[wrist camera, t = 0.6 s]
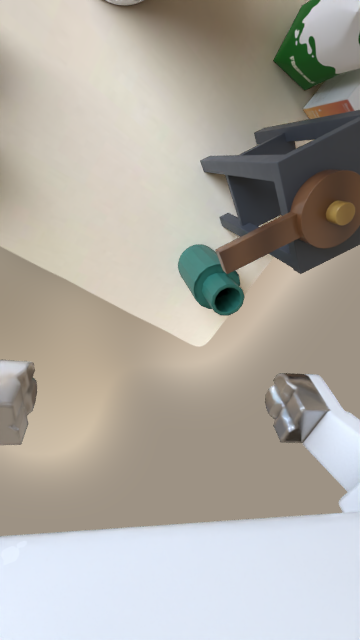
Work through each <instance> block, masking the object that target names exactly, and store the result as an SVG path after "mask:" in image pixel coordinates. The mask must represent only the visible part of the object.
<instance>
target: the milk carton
mask: <svg viewBox="0 0 360 640" xmlns="http://www.w3.org/2000/svg"><path fill="white" fill-rule="evenodd" d="M273 61H274V62H275V63H276V64H277V65H278V66H279V67H280V68H282V69H283V70H284V71H285V72H286V73H287V74H288V75H289V76H290V77H291V78H292V79H293V80H294V81H295V82H296V83H297V84H298V85H299V86H300V87H301V88H302V89H303V90H306V89H308V88H311V87H313V86H315V85H317V84H319V83H322V82H324V81H326V80H328V79H331V78H333V77H336V76H339V75H342V74H345V73H347V72H350V71H353V70H356V69H359V68H360V0H310V1H309V2H307V3H306V4H304V5H302V7H301V9H300V11H299V13H298V14H297V16H296V18H295V20H294V22H293V24H292V26H291V28H290V30H289V32H288V34H287V35H286V37H285V39H284V41H283V43H282V45H281V47H280V49H279V51H278V53H277V55H276V56H275V58H274V60H273Z"/></svg>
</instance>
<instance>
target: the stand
mask: <svg viewBox="0 0 360 640" xmlns="http://www.w3.org/2000/svg"><path fill="white" fill-rule="evenodd" d="M254 134H255V138H256V142H257V144H259V145H257V146H255V147H253V148H252V149H250V150H248V151H246V152H244V153H242V154H240V155H235V156H209V157H207V158H205V159H203V160H201V164H202V167H203V170H204V172H210V173H217V174H224V175H225V176H226V179H227V182H228V186H229V189H230V192H231V195H232V199H233V202H234V205H235V209H236V212H237V215H238V217H236V216H234V215H231V214H229V213H227V214H225V215H223V216H221V217H220V220H221V223H222V226H223V227H225V228H227V229H228V230H230V231H232V232H233V233H235V234H237V235H238V236H240V237H241V236H243V235H245V234H247V233H249V232H251V231H253V230H255V229H257V228H259V227H258V226H259V225H261V224H263V223H265V222H267V221H269V220H271V219H273V218H275V217H277V216H279V215H282V216H283V215H285V214H287V213H289V212H290V210H291V206H292V203H293V200H294V198H295V195H296V194H297V192H298V190H299V189H300V187H301V186H302V185H303V184H304V183H305V182H306V181H307V180H308V179H309V178H310V177H312V176H313V175H315V174H316V173H319V172H321V171H324V170H330V169H332V170H349V171H353V172H356V173H357V174H359V175H360V110H356V111H351V112H345V113H340V114H335V115H330V116H324V117H319V118H314V119H309V120H304V121H298V122H293V123H288V124H283V125H277V126H272V127H267V128H263V129H261V130H259V131H257V132H255V133H254ZM313 139H315V140H313ZM302 140H313V141H311V142H309V143H307V144H305V145H303V146H301V147H299V148H297V149H296V147H295V142H294V141H302ZM358 245H360V226H359V227H358V229H357V230H356V231H355V232H354V233H353V234H352V236H351V237H349V238H348V239H347V240H346V241H344V242H343V243H341V244H339V245H337V246H335V247H331V248H317V247H314V246H312V245H310V244H307V243H305V242H303V241H301V240H300V239H297V240H295V241H293V242H291V243H289V244H287V245H285V246H283V247H281V248H279V249H277V250H275V251H273V252H271V253H269V254H270V255H272V256H274V257H275V258H277V259H279V260H281V261H282V262H284V263H286V264H287V265H289V266H291V267H292V268H293V269H294V270H295V271H297V272H298V273H300V274H301V273H304V272H306V271H308V270H310V269H312V268H314V267H316V266H318V265H320V264H322V263H324V262H326V261H328V260H330V259H332V258H334V257H336V256H338V255H340V254H342V253H344V252H346V251H348V250H350V249H352V248H354V247H356V246H358Z"/></svg>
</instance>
